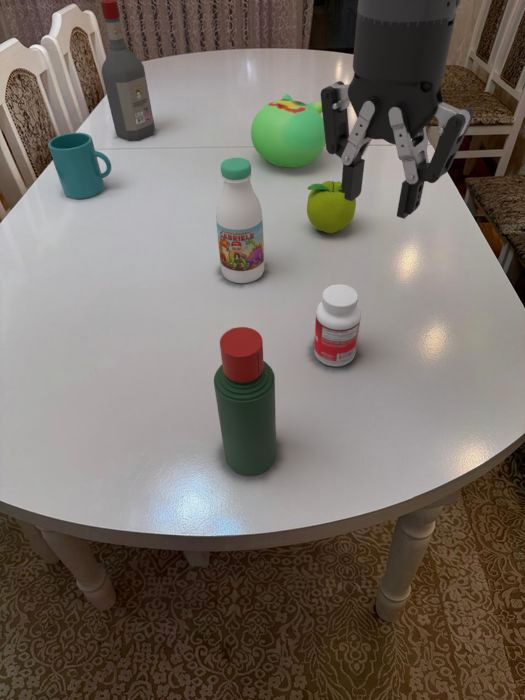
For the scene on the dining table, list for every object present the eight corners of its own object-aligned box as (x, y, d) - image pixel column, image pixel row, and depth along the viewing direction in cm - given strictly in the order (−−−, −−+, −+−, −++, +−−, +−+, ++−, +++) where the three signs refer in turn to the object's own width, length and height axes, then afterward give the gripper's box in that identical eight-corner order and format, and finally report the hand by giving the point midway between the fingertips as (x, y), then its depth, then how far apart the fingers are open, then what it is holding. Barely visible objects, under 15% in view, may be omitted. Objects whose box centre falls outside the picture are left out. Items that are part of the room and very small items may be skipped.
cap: (272, 364, 51) (271, 338, 48) (246, 389, 49) (244, 363, 46) (240, 347, 53) (238, 321, 50) (214, 370, 51) (210, 344, 48)
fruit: (351, 243, 94) (357, 194, 87) (303, 239, 96) (304, 191, 89) (355, 218, 101) (360, 171, 94) (309, 215, 102) (311, 168, 95)
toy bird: (238, 164, 120) (234, 100, 109) (282, 141, 129) (282, 79, 118) (297, 186, 111) (299, 117, 101) (340, 159, 120) (346, 94, 110)
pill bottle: (322, 334, 77) (327, 276, 69) (360, 345, 75) (369, 287, 67) (307, 360, 73) (309, 302, 65) (346, 373, 71) (354, 314, 63)
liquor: (159, 132, 135) (136, 0, 114) (133, 143, 131) (104, 7, 110) (138, 124, 140) (112, -4, 119) (112, 135, 135) (80, 2, 114)
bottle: (286, 448, 62) (287, 339, 49) (254, 485, 59) (246, 378, 45) (246, 424, 65) (237, 314, 52) (214, 457, 62) (194, 349, 48)
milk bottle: (220, 261, 91) (209, 154, 77) (262, 257, 92) (258, 150, 78) (222, 286, 86) (210, 176, 72) (266, 282, 86) (263, 172, 72)
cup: (112, 199, 109) (98, 149, 101) (58, 200, 110) (41, 149, 102) (122, 180, 116) (110, 131, 108) (71, 181, 116) (56, 132, 108)
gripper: (302, 5, 40) (298, 200, 52) (478, 27, 33) (427, 245, 45) (352, -11, 44) (338, 174, 56) (518, 6, 37) (461, 211, 49)
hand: (378, 205), depth 50 cm, fingers open, 5 cm apart
